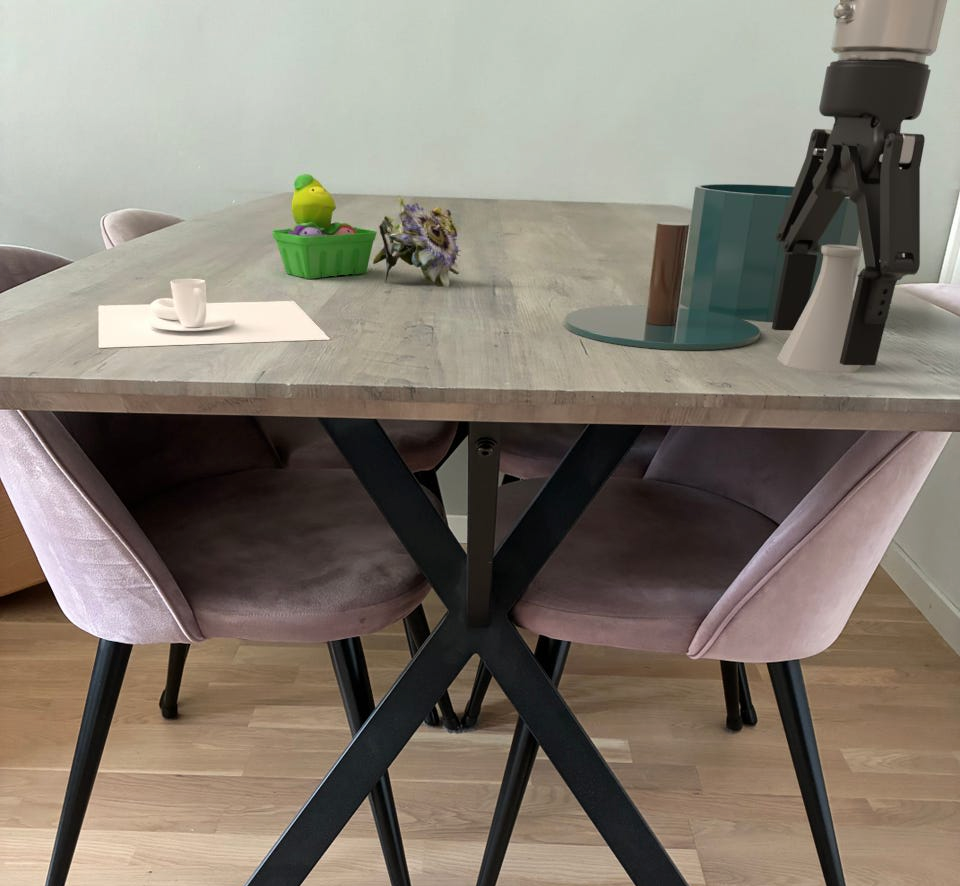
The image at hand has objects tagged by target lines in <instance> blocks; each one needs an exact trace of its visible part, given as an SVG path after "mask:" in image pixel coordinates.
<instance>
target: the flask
mask: <svg viewBox="0 0 960 886" xmlns="http://www.w3.org/2000/svg"><path fill="white" fill-rule="evenodd" d="M821 252H822V254H823V262H822V266H821V271H820V274H819V277H818V280H817V282H816V285H815V288H814V290H813V293H812V295H811V297H810V299H809V301H808V303H807V305H806V307H805V309H804V310H803V312H802V314H801V316H800V318H799V320H798V322H797V324H796V326H795V327H794V329H793V330H791V332H790V334H789V336H788V338H787V340H786V341H785V343H784V345H783V347H782V349H781V350H780V352H779V354H778V356H777V358H776V359H777V360H778V361H779V362H780V363H782V364H783V365H784V366H785V367H789V368H795V369H800V370H805V371H806V370H807V371H812V372H817V373H818V372H819V373H846V374H848V373H849V374H850V373H853V372H855V371H856V370H858V369H860V368H861V367H862V365H843V364H841V363H840V358H841V354H842V349H843V345H844V340H845V336H846V331H847V327H848V322H849V318H850V313H851V309H852V304H853V300H854V298H853V294H854V293H853V292H854V289H853V274H854V269H855V264H856V260H857V257H858V256H860V255H862V254H863V248H859V247H856V246H847V245H824V246H822V248H821ZM860 257H861V256H860Z"/></svg>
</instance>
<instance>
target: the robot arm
mask: <svg viewBox="0 0 960 886" xmlns="http://www.w3.org/2000/svg"><path fill="white" fill-rule="evenodd" d="M947 4H948V0H839V3H837V4H836V6H834V8H833V18H835V26H834V30H833V37H832V41H831V47H830V48H831V51H832V52H833V53H834V54H836V55H837V60H835V61H831V62H829V65H828V66H826V70H825V75H824V79H823V80H824V81H823V86H822V91H821V96H820V101H819V105H818V106H819V107H818V109H819V113H820V115H822V116H823V117H829V118H834V123H833V125H832V129H827V128H814V129H813V130H812V132H811V134H810V138H809V142H808V146H807V150H806V154H805V159H804V161H803V164H802V166H801V168H800V172H799V174H798V176H797V179H796V182H795V184H794V186H795V187H794V189H793V192H792V194H791V197H790V200H789V202H788V205H787V207H786V210H785V212H784V215H783V218H782V220H781V223H780V225H779V228H778V231H777V234H776V239H777V242H783V250H784V252H787V254H785V260H784V265H783V271H782V276H781V281H780V287H779V292H778V298H777V303H776V308H775V314H774V319H773V322H772V325H771V329H772V330H774V331H793V329H794V327H795V326H796V324H797V322H798V320H799V318H800V316H801V314H802V312H803V310H804V309H805V307H806V305H807V303H808V301H809V296H810V291H811V286H812V281H813V276H814V271H815V266H816V261H817V255H811V254H807V253H819V252H820V250H819V249H820V248H819V244H818V241H819V239H820V238H821V236H822V235H823V233H824V231H825V230H826V228H827V226H828V225H829V223H830V221H831V220H832V218H833V216H834V215H835V213H836V212H837V210H838V208H839V207H840V205H841V203H842V202H843V200H844V199H845V198H846V197H848V196H849V198H850V200H851V201H853V202H854V203H855V204H856V207H857V214H858V220H859V227H860V234H861V241H862V254H863V260H864V261H863V262H864V268H862V270H860V272H858V273H857V275H856V277H857V282H856V287H855V291H854V296H853V304H852V309H851V313H850V318H849V322H848V327H847V331H846V336H845V340H844V345H843V349H842V354H841V358H840V363H841V364H843V365H861V366H876V364H877V360H878V355H879V352H880V348H881V343H882V339H883V335H884V331H885V326H886V322H887V320H888V316H889V313H890V310H891V304H892V300H893V296H894V292H895V288H896V284H897V283H898V281H901V280H902V279H903V277H906V276H908V275H909V276H915V275H916V274H917V273H918V271H919V269H920V264H921V163H922V158H923V153H924V147H925V143H926V142H925V141H926V139H925V138H926V137H925V135H924V134H922V133H908V132H907V133H905V132H901V129H902V123H903V122H904V121H913V120H916V119H917V118H919V117H920V115H921V113H922V110H923V106H924V101H925V98H926V97H925V96H926V92H927V89H928V84H929V80H930V75H931V71H932V70H931V69H929V67H930V65H929V64H927V63H925V62H926V59H927V57H931V56H932V55H934V54H935V52H936V51H937V47H938V43H939V39H940V34H941V30H942V25H943V21H944V16H945V11H946V8H947ZM791 225H793V226H792V228H790V227H791ZM903 254H904V255H903Z"/></svg>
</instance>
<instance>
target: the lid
mask: <svg viewBox="0 0 960 886" xmlns="http://www.w3.org/2000/svg"><path fill="white" fill-rule="evenodd" d="M689 231H690V224H689V223H687V222H686V223H685V222H678V221H658V222H657V223H656V226H655V234H654V235H655V236H654V245H653V255H652V261H651V262H652V263H651V272H650V279H649V289H648V296H647V305H629V304H627V305H625V304H624V305H601V306H592V307H585V308H581V309H576V310H573V311H570V312H569V313H567V314H566V315H565V316H564V318H563V325H564V327H565V328H566V329H567V330H568V331H569V332H572V333H574V334H576V335H579V336H581V337H584V338H588V339H590V340H595V341H599V342H604V343H609V344H614V345H620V346H627V347H634V348H644V349H652V350H653V349H654V350H670V351H672V350H673V351H714V350H728V349H734V348H735V349H736V348H741V347H745V346H748V345H752V344H754V343H755V342H757V341H758V340H759V338H760V334H761V331H760V328H759V327H758V326H757V325H756V324H754V323H752V322H749V321H748V320H742V319H739V318H735V317H732V316H727V315H723V314H718V313H713V312H707V311H700V310H693V309H689V308H685V307H684V308H683V307H680V301H681V293H682V285H683V277H684V270H685V262H686V254H687V246H688V239H689Z"/></svg>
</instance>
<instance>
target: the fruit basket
mask: <svg viewBox="0 0 960 886" xmlns="http://www.w3.org/2000/svg"><path fill="white" fill-rule="evenodd" d="M293 182H294V183H293V186H294V189H293V197H292V200H291V213H292V217H293V220H294V222H295V224H296V225H294V226H293V228H285V229H275V230H272V231H271V233H272V236H273V239H274V240H275V243H276V245H277V248H278V251H279V254H280V258H281V261H282V264H283V267H284V270H285V272H286V274H287V275H292V276H295V277H299V278H302V279H303V278H305V279H307V280H311V279H312V280H313V279H320V278H322V279H323V278H330V277H329V276H334V277H338V276H337V275H345V276H350V275H349V274H352V275H363V273H364V274H366V273H367V270H368V267H369V262H370V258H371V254H372V250H373V245H374V241H375V240H376V236H377V233H378V232H377V231H376V230H373V229H372V230H371V229H366V228H360V227H355V226H352V225H351V224H349V223H347V222H338V221H334V222H332V218H333V212H334V211H335V210H336V209H337V207H336V203H335V200H334V198H333V195H331V194H330V192H329V191H328V190H327V189H326V188H325V187H324V186H323V185H322V183H321V182H320V181H319V180H318V179H316V178H315V177H313V176H312V175H311V174H308V173H304V174H298V176H297V177H296V178H295V179H294V181H293Z"/></svg>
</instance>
